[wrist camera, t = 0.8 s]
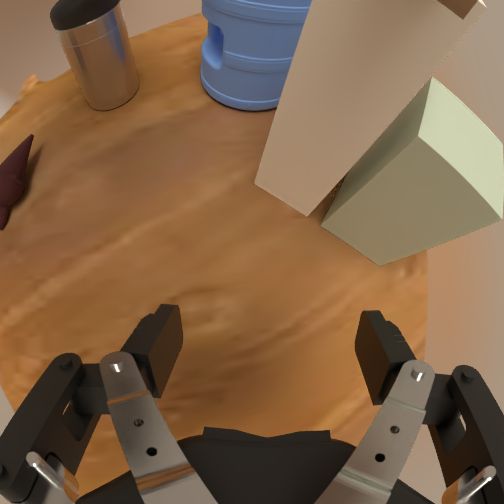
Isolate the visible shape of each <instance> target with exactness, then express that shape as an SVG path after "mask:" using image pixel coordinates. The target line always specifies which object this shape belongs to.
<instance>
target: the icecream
mask: <svg viewBox="0 0 504 504" xmlns="http://www.w3.org/2000/svg"><path fill="white" fill-rule="evenodd" d="M33 137H34V135H32V134H31V135H30V136H29V137H28V138H26V139H25V140H24V141H23V142H22V143H21V144H20V145H19V146H18V147H17V148H16V149H15V150H14V151H13V152H12V153H11V154H10V155H9V156H8V157H7V158H6V159H5V160H4V162H3V163H2V164H1V165H0V229H2V228H3V227H4V226H5V223H6V221H7V217H8V205H10V204H12V203H14V202H15V201H16V200H17V199H18V198H19V197H20V195H21V194H22V192H23V189H24V187H26V186H27V184H26V183H25V182H23V181H24V176H25V171H26V166H27V161H28V157H29V152H30V148H31V145H32V141H33Z"/></svg>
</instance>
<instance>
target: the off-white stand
mask: <svg viewBox="0 0 504 504" xmlns="http://www.w3.org/2000/svg"><path fill="white" fill-rule="evenodd" d="M486 9H487V7H486V6H485V4H484V3H483V1H482V0H478V1H477V2H476V4H475V5H474V6H473V8H472V9H471V10H470V11H469V13H468V14H467V15H466V17H465V18H464V19H463V20H462V19H461V18H460V17H459V16H457V15H456V14H455V13H454V12H452V11H451V10H450V9H448V8H447V7H445V6H444V5H443V4H441V3H440V2H438V1H437V0H312V2H311V5H310V8H309V11H308V14H307V17H306V20H305V23H304V26H303V29H302V32H301V35H300V38H299V41H298V44H297V47H296V50H295V53H294V57H293V60H292V63H291V66H290V69H289V72H288V75H287V78H286V81H285V85H284V88H283V91H282V94H281V97H280V100H279V104H278V107H277V110H276V113H275V116H274V120H273V123H272V126H271V129H270V132H269V136H268V139H267V142H266V145H265V149H264V152H263V155H262V159H261V162H260V165H259V169H258V172H257V175H256V179H255V182H254V184H255V185H257V186H258V187H260V188H262V189H263V190H265V191H266V192H268V193H270V194H271V195H273V196H275V197H276V198H278V199H279V200H281V201H283V202H284V203H286V204H287V205H289V206H291V207H292V208H294V209H295V210H297V211H298V212H300V213H302V214H303V215H305V216H306V217H307V216H308V215H309V214H310V213H311V212H312V211H313V210H314V209H315V208H316V207H317V205H318V204H319V203H320V202H321V201H322V200H323V199H324V198H325V197H326V196H327V194H328V193H329V192H330V191H331V190H332V189H333V188H334V187H335V186H336V184H337V183H338V182H339V181H340V180H341V179H342V178H343V177H344V175H345V174H346V173H347V172H348V171H349V170H350V169H351V168H352V167H353V165H354V164H355V163H356V162H357V161H358V160H359V159H360V158H361V156H362V155H363V154H364V153H365V152H366V151H367V150H368V148H369V147H370V146H371V145H372V144H373V143H374V142H375V141H376V139H377V138H378V137H379V136H380V135H381V134H382V133H383V131H384V130H385V129H386V128H387V127H388V126H389V125H390V123H391V122H392V121H393V120H394V119H395V118H396V116H397V115H398V114H399V113H400V112H401V111H402V110H403V108H404V107H405V106H406V105H407V104H408V103H409V101H410V100H411V99H412V98H413V97H414V96H415V94H416V93H417V92H418V91H419V90H420V89H421V87H422V86H423V85H424V84H425V83H426V82H427V80H428V79H429V78H430V77H431V76H432V74H433V73H434V72H435V71H436V70H437V69H438V67H439V66H440V65H441V64H442V63H443V61H444V60H445V59H446V58H447V57H448V55H449V54H450V53H451V52H452V51H453V50H454V48H455V47H456V46H457V45H458V43H459V42H460V41H461V40H462V39H463V37H464V36H465V35H466V34H467V33H468V31H469V30H470V29H471V27H472V26H473V25H474V24H475V23H476V22H477V20H478V19H479V18H480V16H481V15H482V14H483V13H484V12H485V10H486Z"/></svg>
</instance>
